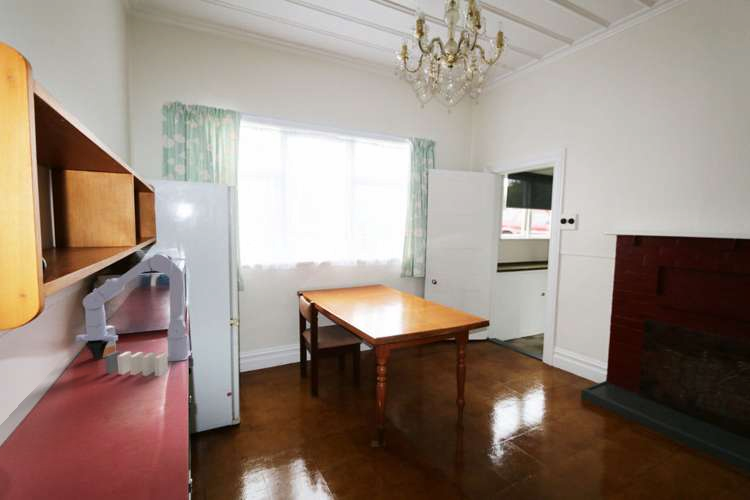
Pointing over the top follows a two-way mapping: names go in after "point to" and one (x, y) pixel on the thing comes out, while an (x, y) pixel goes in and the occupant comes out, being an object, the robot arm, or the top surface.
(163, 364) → the ivory domino
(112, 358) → the charcoal domino
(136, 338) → the top surface
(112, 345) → the skincare box
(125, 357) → the ivory domino
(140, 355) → the ivory domino
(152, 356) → the ivory domino
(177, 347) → the robot arm
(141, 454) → the top surface
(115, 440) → the top surface
